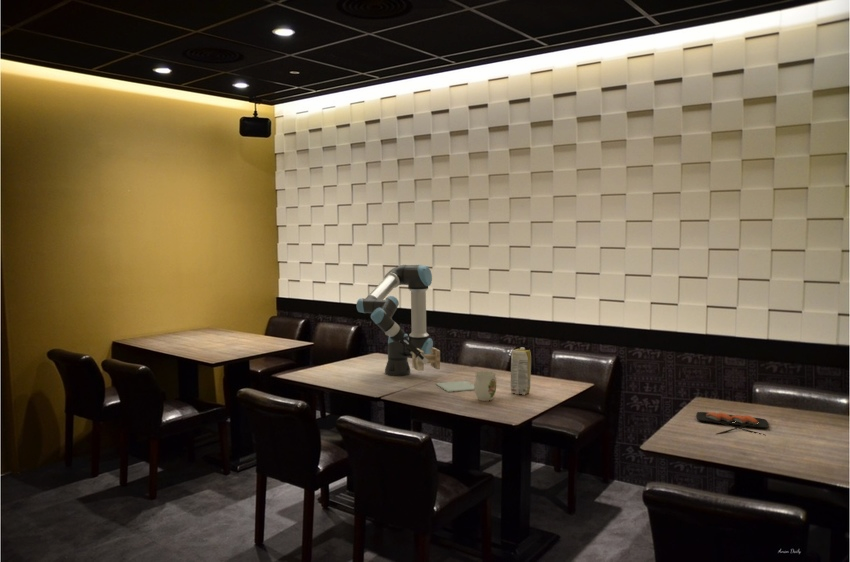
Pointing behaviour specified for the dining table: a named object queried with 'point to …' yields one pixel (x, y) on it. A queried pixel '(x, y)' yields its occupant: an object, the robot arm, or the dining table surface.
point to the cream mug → (485, 385)
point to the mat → (456, 386)
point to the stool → (432, 358)
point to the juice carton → (520, 371)
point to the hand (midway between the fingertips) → (423, 360)
